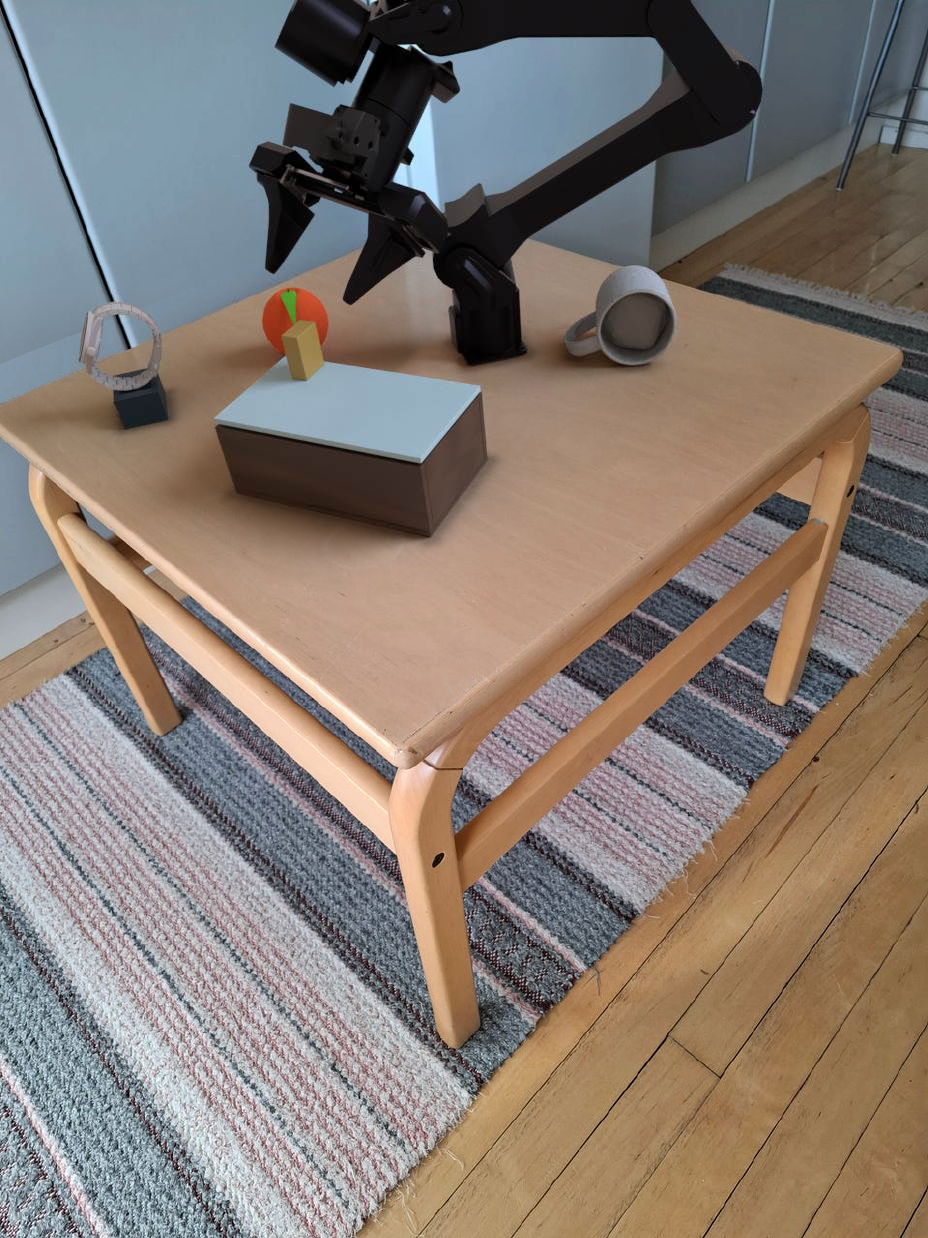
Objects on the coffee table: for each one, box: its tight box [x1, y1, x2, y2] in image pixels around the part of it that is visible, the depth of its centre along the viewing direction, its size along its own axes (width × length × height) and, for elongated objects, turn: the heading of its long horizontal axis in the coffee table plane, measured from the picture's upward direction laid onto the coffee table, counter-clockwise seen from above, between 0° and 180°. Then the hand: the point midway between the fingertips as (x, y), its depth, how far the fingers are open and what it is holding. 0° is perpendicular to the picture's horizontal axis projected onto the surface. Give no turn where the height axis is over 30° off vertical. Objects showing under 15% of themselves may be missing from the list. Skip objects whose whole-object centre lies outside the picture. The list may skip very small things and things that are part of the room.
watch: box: [78, 301, 169, 430], centre depth 88 cm, size 6×8×11 cm
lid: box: [213, 320, 482, 463], centre depth 74 cm, size 11×19×4 cm, turn 65°
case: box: [214, 391, 489, 538], centre depth 78 cm, size 11×19×7 cm, turn 65°
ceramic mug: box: [563, 264, 678, 366], centre depth 90 cm, size 11×8×8 cm
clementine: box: [261, 286, 329, 355], centre depth 95 cm, size 8×7×7 cm
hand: (307, 286), depth 80 cm, fingers open, 9 cm apart
